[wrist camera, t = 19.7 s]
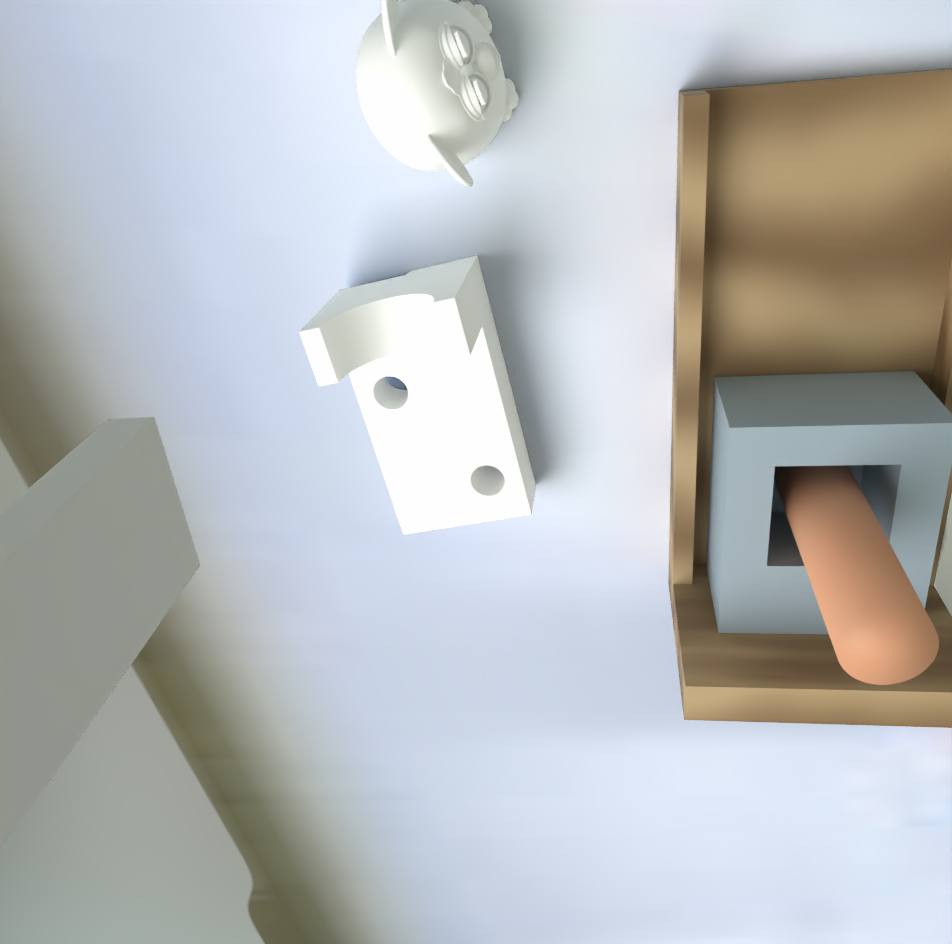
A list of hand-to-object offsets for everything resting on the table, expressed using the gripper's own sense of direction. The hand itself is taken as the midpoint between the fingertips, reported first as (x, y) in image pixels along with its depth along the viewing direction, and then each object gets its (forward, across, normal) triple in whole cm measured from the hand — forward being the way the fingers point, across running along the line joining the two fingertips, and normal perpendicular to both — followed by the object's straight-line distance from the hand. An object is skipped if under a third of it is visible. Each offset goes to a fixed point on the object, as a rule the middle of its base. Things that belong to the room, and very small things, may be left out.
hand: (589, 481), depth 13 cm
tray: (+30, +10, -11) cm, 34 cm away
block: (+29, +10, -16) cm, 35 cm away
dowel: (+28, +10, -15) cm, 34 cm away
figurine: (+31, -7, +3) cm, 32 cm away
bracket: (+31, -8, -11) cm, 34 cm away
